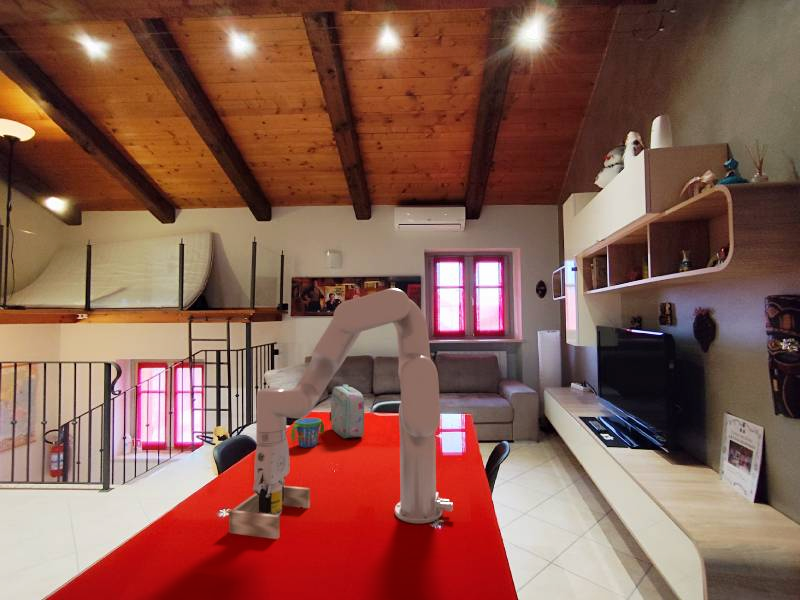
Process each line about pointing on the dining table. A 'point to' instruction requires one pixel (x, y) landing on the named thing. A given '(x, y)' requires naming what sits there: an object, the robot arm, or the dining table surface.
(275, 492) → the supplement bottle
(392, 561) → the dining table surface
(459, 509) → the dining table surface
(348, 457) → the dining table surface
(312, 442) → the snack cup
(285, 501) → the open-sided box
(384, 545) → the dining table surface
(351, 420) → the lunch box
